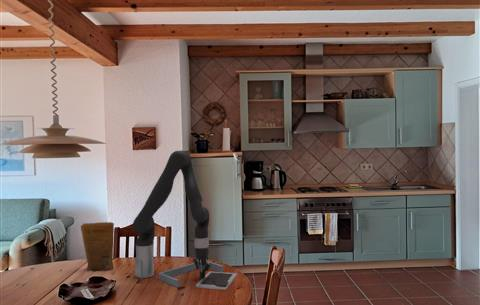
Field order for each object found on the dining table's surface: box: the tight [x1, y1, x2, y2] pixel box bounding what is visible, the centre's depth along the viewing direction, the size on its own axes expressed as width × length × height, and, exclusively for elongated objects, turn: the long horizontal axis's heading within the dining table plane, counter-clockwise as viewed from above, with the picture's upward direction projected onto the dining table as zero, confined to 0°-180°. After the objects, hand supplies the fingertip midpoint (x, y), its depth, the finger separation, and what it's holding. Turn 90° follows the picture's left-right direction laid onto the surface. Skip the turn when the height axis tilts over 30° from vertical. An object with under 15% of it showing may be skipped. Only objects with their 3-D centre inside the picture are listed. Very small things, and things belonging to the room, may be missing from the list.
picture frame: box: [195, 270, 238, 291], centre depth 201 cm, size 16×3×21 cm
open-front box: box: [158, 261, 224, 288], centre depth 210 cm, size 31×17×4 cm, turn 134°
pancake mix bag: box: [80, 221, 115, 272], centre depth 224 cm, size 7×19×28 cm, turn 83°
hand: (202, 278), depth 204 cm, fingers closed
